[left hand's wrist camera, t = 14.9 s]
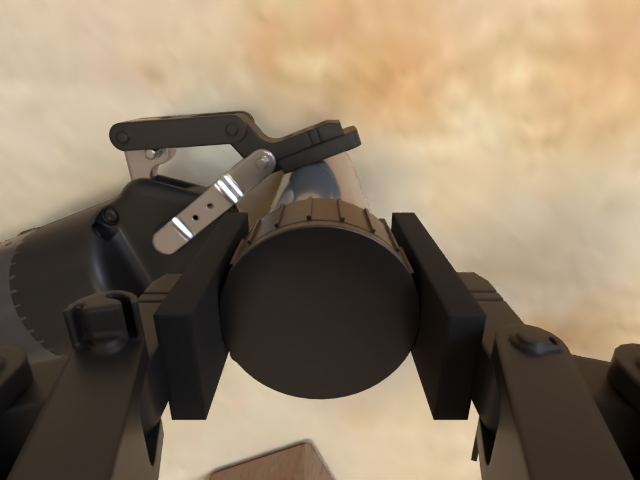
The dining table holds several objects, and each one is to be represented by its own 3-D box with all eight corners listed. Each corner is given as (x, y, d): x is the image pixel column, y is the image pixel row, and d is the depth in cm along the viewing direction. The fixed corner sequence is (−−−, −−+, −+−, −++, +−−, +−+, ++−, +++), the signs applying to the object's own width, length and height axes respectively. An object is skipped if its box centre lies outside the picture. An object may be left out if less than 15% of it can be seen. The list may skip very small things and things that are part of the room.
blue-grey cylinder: (359, 146, 25) (419, 245, 10) (346, 210, 27) (380, 381, 12) (291, 134, 25) (247, 217, 10) (282, 200, 26) (231, 360, 11)
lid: (265, 168, 11) (252, 190, 9) (435, 232, 12) (461, 267, 9) (214, 319, 13) (192, 368, 11) (363, 367, 13) (372, 422, 11)
